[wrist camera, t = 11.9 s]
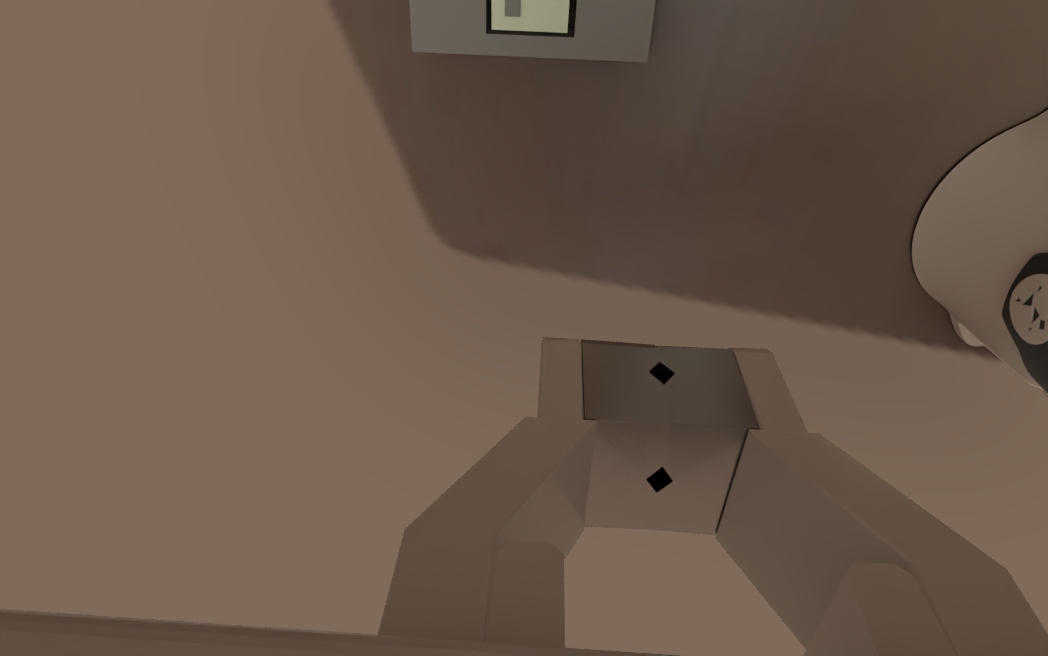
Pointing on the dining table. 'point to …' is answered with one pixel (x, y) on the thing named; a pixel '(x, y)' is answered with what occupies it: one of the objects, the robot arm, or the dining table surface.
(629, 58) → the button panel
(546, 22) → the button two
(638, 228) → the dining table surface
